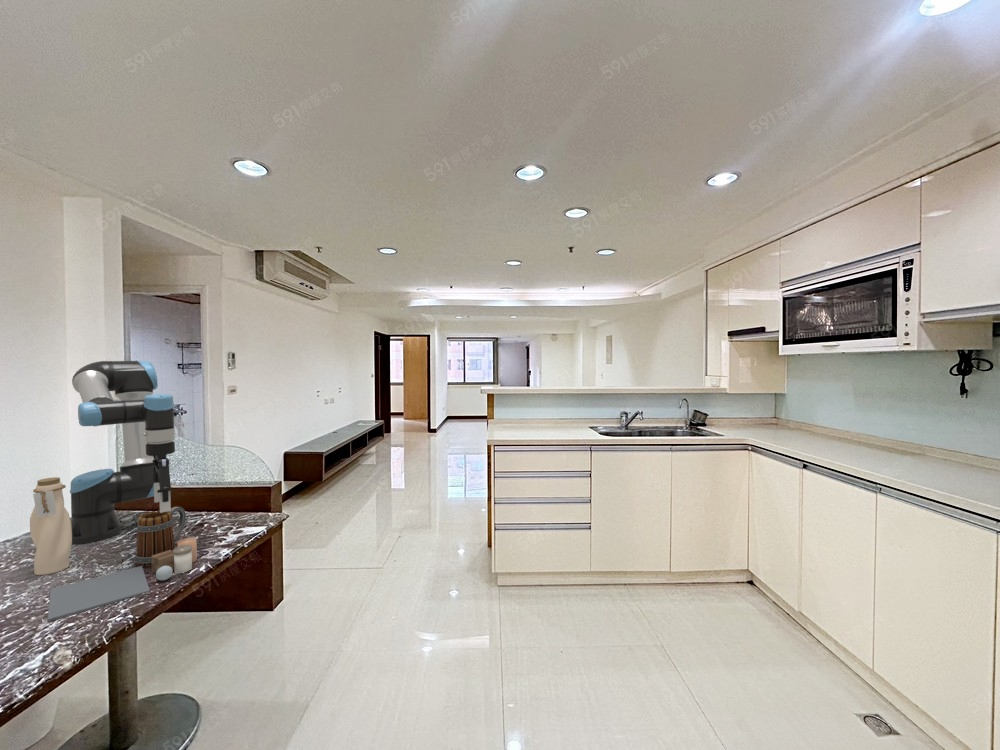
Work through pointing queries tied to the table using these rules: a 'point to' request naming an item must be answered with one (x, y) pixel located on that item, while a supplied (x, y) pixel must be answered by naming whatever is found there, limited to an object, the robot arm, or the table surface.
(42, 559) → the cream corked bottle
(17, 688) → the table surface
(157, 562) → the walnut block
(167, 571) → the grey ball
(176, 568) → the jar
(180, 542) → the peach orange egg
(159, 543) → the mug
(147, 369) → the robot arm
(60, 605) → the slate pad
